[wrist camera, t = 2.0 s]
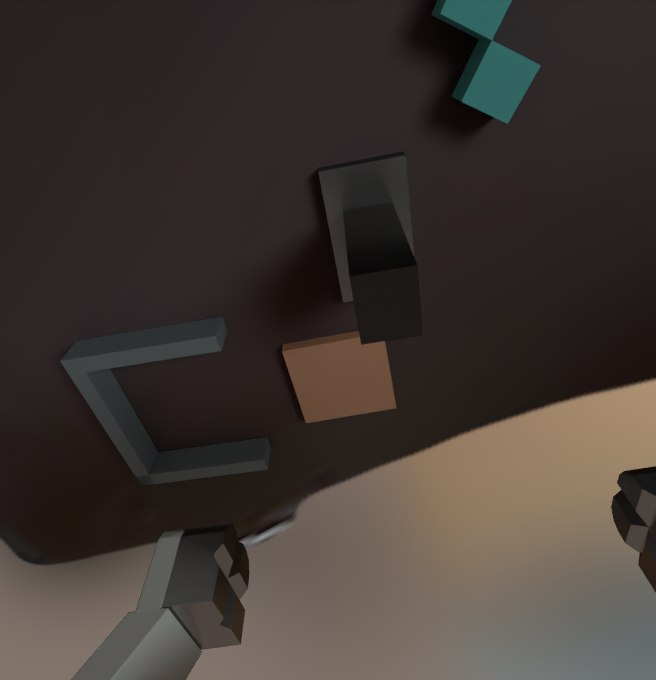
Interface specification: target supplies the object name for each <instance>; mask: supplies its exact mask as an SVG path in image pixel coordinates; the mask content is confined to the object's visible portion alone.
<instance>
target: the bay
mask: <svg viewBox="0 0 656 680" xmlns="http://www.w3.org/2000/svg"><path fill="white" fill-rule="evenodd" d="M227 331H228V330H227V328H226V325H225V322H224V320H223V317H216V318H210V319H204V320H198V321H192V322H186V323H180V324H174V325H168V326H162V327H156V328H150V329H144V330H138V331H132V332H126V333H120V334H114V335H108V336H102V337H96V338H90V339H84V340H78V341H76V342H75V343H74V344H73V345H72V347H71V348H70V349H69V350H68V352H67V353H66V354H65V356H64V357H63V358H62V359H61V361H60V362H61V363H62V365H63V366H64V368H65V370H66V371H67V373H68V374H69V376H70V377H71V379H72V380H73V382H74V383H75V385H76V386H77V388H78V389H79V391H80V393H81V394H82V396H83V397H84V399H85V400H86V402H87V403H88V405H89V406H90V408H91V409H92V411H93V412H94V414H95V415H96V417H97V419H98V420H99V422H100V423H101V425H102V426H103V428H104V429H105V431H106V432H107V434H108V435H109V437H110V438H111V440H112V442H113V443H114V445H115V446H116V448H117V449H118V451H119V452H120V454H121V455H122V457H123V458H124V460H125V461H126V463H127V464H128V466H129V468H130V469H131V471H132V472H133V474H134V475H135V477H136V478H137V480H138V481H139V483H140V484H141V486H145V485H153V484H161V483H168V482H176V481H184V480H191V479H199V478H207V477H214V476H222V475H230V474H237V473H245V472H253V471H260V470H268V465H269V458H270V450H271V446H270V443H269V441H268V438H267V437H264V438H257V439H250V440H242V441H235V442H228V443H221V444H213V445H206V446H199V447H192V448H184V449H177V450H170V451H163V452H158V451H157V449H156V447H155V445H154V444H153V442H152V440H151V439H150V437H149V435H148V433H147V432H146V430H145V428H144V427H143V425H142V423H141V421H140V420H139V418H138V416H137V415H136V413H135V411H134V409H133V408H132V406H131V404H130V403H129V401H128V399H127V397H126V396H125V394H124V392H123V391H122V389H121V387H120V385H119V384H118V382H117V380H116V378H115V377H114V375H113V373H112V372H111V370H110V368H116V367H122V366H129V365H135V364H141V363H148V362H154V361H160V360H167V359H173V358H179V357H186V356H192V355H198V354H204V353H211V352H217V351H221V350H222V347H223V344H224V341H225V337H226V334H227Z"/></svg>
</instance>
